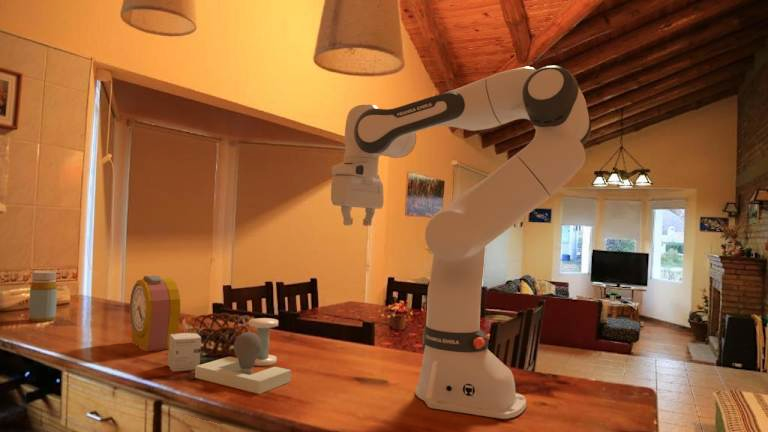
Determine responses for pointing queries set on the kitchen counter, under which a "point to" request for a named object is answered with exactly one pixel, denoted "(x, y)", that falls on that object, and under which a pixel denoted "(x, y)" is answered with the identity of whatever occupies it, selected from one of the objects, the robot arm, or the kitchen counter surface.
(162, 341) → the alarm clock
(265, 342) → the bobbin
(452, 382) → the robot arm
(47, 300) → the bottle
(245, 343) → the light bulb
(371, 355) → the kitchen counter surface
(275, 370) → the notched board
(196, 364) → the skincare box
